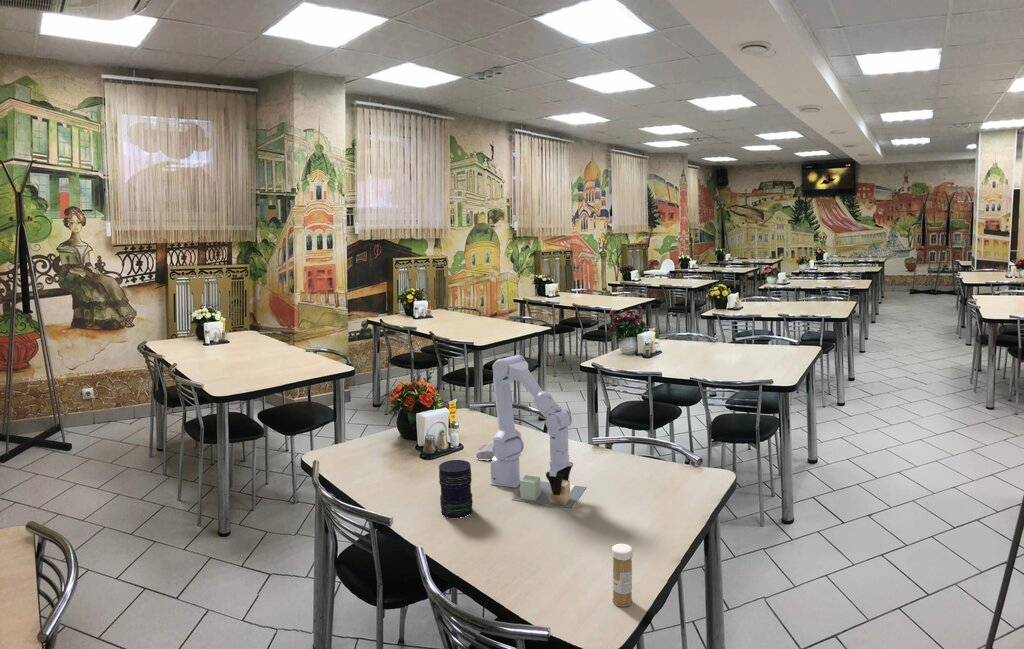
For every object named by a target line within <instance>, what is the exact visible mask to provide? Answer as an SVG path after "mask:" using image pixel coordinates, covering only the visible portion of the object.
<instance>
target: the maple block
mask: <svg viewBox="0 0 1024 649" xmlns="http://www.w3.org/2000/svg"><path fill="white" fill-rule="evenodd" d="M570 485H571V481H570V480H569V479H568V480H562V485H561V493H560V495H553V492H552V489H551V485H550V503H555V504H562V505H566V504H567V502H568V501H569V500H570Z"/></svg>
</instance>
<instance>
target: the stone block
mask: <svg viewBox="0 0 1024 649" xmlns="http://www.w3.org/2000/svg"><path fill="white" fill-rule="evenodd" d="M493 444H494V442H490V443H489V442H488V443H486V444H483V445H481V446H480V447H479V448H478V450H477V451H476V452H475V453H476V459H477V458H478V459H490V460H492V458H493V457H494V456H495V455H494V453H493ZM478 459H477V460H478Z"/></svg>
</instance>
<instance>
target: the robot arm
mask: <svg viewBox="0 0 1024 649" xmlns="http://www.w3.org/2000/svg"><path fill="white" fill-rule="evenodd" d="M491 368H492V374H493V378H492V382H493V391H494V399H495V401H494V402H495V408H496V417H497V427H498V431H497V432H496V433H495V435H494V437H492V440H493V443H494V444H493V453H494V455H495V456H494V457H493V458H492V461H490V481H491V482H490V483H489V484H490V485H491V486H500V487H509V488H512V489H513V488H517V487H518V486H519V485H520V481H521V480H522V478H523V477H520V476H521V471H520V457H521V456H522V455H521V453H522V452H523V451H524V448H525V444H524V441H523V438H522V433H521V432H520V431H519V430H517V429H516V428H515V427H516V426H515V419H514V411H513V410H514V409H513V400H512V391H511V383H512V382H513V381H518V382H520V383H521V385H522V386H523V387H524V388H525V389H526V390H527V391H528V393H529V394H530V395H532V396H531V397H533V404H534V406H535V407H536V408H537V410H538V411H539V412H540V413H541V414H542V416H543V418H544V419H545V421H544V423H545V424H544V425H546V426H545V427H546V428H547V430H548V433H547V434H548V436H549V451H550V452H549V453H550V454H549V455H550V458H549V459H550V461H549V470H548V471H547V472H546V473H545V477H546V479H547V480H548V482H549V483H550V485H551V489H552V492H553V495H560V493H561V485H562V480H569V479H570V474H571V470H572V468H573V466H574V463H573V461H570V452H569V427H570V426H571V424H572V421H573V419H572V415H571V413H570V412H569V410H568V409H566V408H563V407H562V406H559V404H558V403H557V402H556V400H555V399H554V398H553V396H552V394H551V393H549V392H548V391H544V390H542V388H541V386H540V385H539V383H538V382H537V380H536V379H535V377H534V376H533V375H532V372H531V371H530V370H529V363H528V362H527V361H526V359H525V357H523V355H521V354H515V355H512V356H508V357H505V358H498V359H496V361H494V363H493V364H492V366H491Z"/></svg>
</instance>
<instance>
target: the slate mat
mask: <svg viewBox="0 0 1024 649" xmlns="http://www.w3.org/2000/svg"><path fill="white" fill-rule="evenodd" d="M586 489H587V486H580V485H575V484H570V500H569V501H568V502H567V504H566V505H562V504H555V503H550V483H549V481H541V480H540V493H541V495H540V496H539V497H538V498H537V499H536V501H533V500H525V499H521V494H520V490H519V491H518V493H517V492H516V494H515V496H514V497H512V498H511V501H516V502H520V503H522V502H523V503H530V504H537V505H544V506H550V507H559V508H560V507H561V508H566V509H573V508H574V506H576V503H577V502H578V500H579V498H580V497H581V496H582V494H583V493H584V491H585V490H586Z"/></svg>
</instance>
